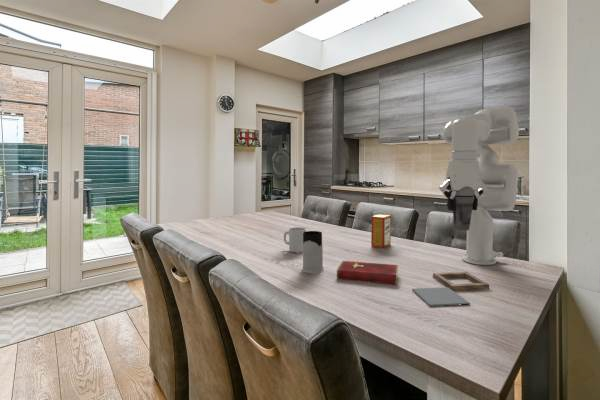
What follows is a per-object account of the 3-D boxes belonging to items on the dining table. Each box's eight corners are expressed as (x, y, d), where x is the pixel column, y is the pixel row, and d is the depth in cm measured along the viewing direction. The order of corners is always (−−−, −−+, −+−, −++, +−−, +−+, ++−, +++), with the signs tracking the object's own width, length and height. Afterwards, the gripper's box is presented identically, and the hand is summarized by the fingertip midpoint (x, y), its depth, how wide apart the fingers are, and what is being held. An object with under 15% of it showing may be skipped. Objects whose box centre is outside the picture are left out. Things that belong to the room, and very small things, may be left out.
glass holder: (298, 272, 121) (298, 234, 119) (310, 261, 134) (309, 227, 133) (320, 274, 118) (319, 235, 116) (329, 263, 131) (329, 228, 130)
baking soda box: (378, 243, 166) (378, 213, 164) (390, 244, 162) (390, 214, 160) (371, 246, 158) (371, 215, 157) (383, 248, 154) (384, 216, 153)
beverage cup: (477, 231, 101) (479, 170, 99) (453, 231, 102) (455, 170, 100) (469, 227, 108) (471, 170, 106) (447, 227, 110) (449, 170, 108)
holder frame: (466, 275, 114) (466, 271, 114) (489, 288, 101) (489, 284, 101) (433, 277, 113) (433, 273, 113) (452, 290, 100) (452, 286, 100)
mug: (309, 249, 155) (308, 227, 154) (302, 253, 147) (301, 231, 146) (288, 247, 160) (287, 226, 159) (280, 251, 152) (279, 229, 151)
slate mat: (447, 289, 102) (447, 287, 102) (469, 304, 90) (470, 302, 90) (412, 290, 101) (412, 288, 101) (429, 306, 89) (429, 304, 89)
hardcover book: (397, 286, 106) (397, 274, 105) (336, 280, 113) (336, 269, 112) (397, 275, 117) (398, 264, 117) (342, 270, 124) (342, 259, 123)
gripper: (481, 157, 107) (479, 208, 109) (433, 158, 106) (432, 209, 108) (496, 156, 100) (494, 210, 101) (444, 157, 99) (443, 212, 100)
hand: (462, 209), depth 105 cm, fingers closed on beverage cup, 6 cm apart
